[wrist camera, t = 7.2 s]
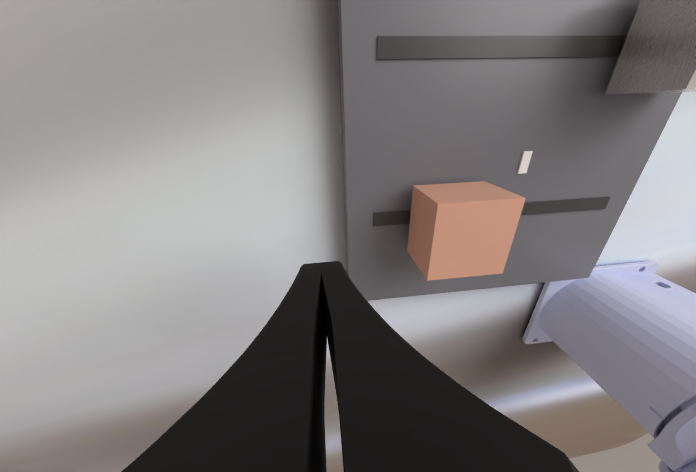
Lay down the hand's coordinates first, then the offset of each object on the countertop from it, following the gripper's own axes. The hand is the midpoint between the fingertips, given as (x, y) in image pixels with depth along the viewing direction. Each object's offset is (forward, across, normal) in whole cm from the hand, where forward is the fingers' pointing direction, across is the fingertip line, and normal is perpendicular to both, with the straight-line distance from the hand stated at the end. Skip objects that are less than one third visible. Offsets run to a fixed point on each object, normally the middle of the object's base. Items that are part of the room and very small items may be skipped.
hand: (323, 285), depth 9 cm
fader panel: (+7, -11, -4) cm, 13 cm away
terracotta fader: (+5, -7, 0) cm, 9 cm away
